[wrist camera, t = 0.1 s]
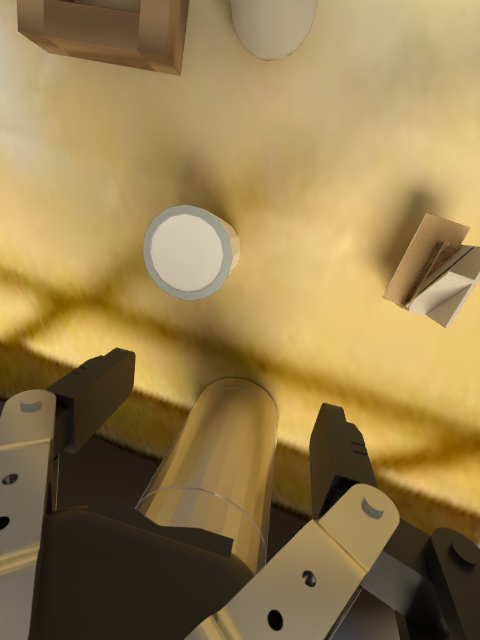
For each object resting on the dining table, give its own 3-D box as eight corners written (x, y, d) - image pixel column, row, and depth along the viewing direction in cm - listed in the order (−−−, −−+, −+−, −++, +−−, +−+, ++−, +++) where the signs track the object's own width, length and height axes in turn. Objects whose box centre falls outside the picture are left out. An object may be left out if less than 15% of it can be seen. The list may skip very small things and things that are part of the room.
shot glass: (193, 293, 30) (164, 312, 23) (165, 226, 28) (126, 226, 22) (257, 270, 28) (246, 284, 21) (231, 197, 26) (210, 187, 20)
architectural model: (371, 291, 27) (396, 313, 20) (409, 215, 25) (453, 210, 18) (407, 304, 27) (446, 331, 20) (449, 228, 25) (510, 229, 18)
